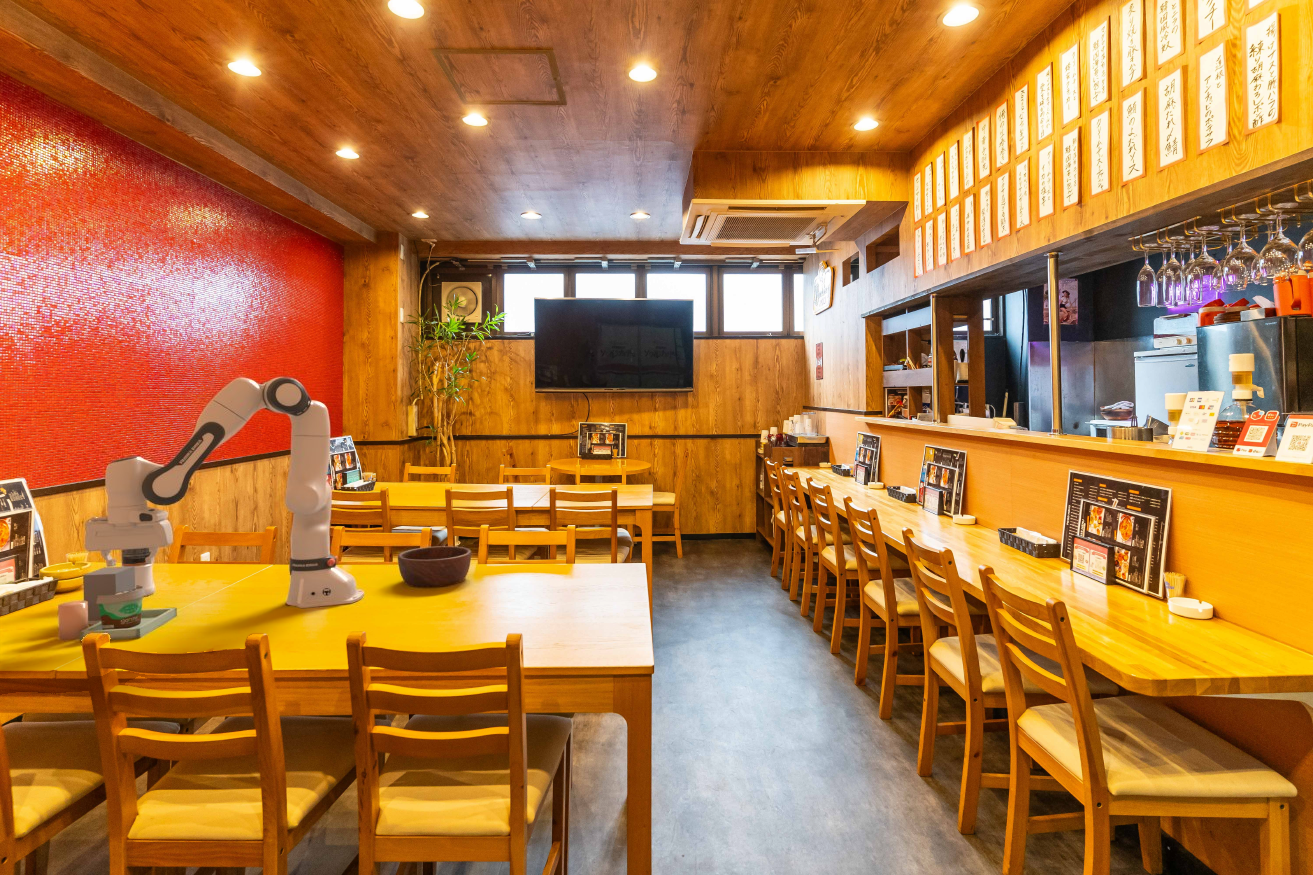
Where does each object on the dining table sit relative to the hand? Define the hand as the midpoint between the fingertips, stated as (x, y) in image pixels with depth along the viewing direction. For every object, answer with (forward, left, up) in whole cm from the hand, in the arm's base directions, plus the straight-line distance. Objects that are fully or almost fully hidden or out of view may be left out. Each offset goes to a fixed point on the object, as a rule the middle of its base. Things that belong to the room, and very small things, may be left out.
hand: (130, 564), depth 187 cm
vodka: (+17, -39, -18) cm, 46 cm away
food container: (+1, 0, -17) cm, 17 cm away
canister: (+11, +5, -18) cm, 22 cm away
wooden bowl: (-77, -38, -18) cm, 87 cm away
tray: (0, 0, -18) cm, 18 cm away
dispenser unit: (+11, -12, -18) cm, 24 cm away
